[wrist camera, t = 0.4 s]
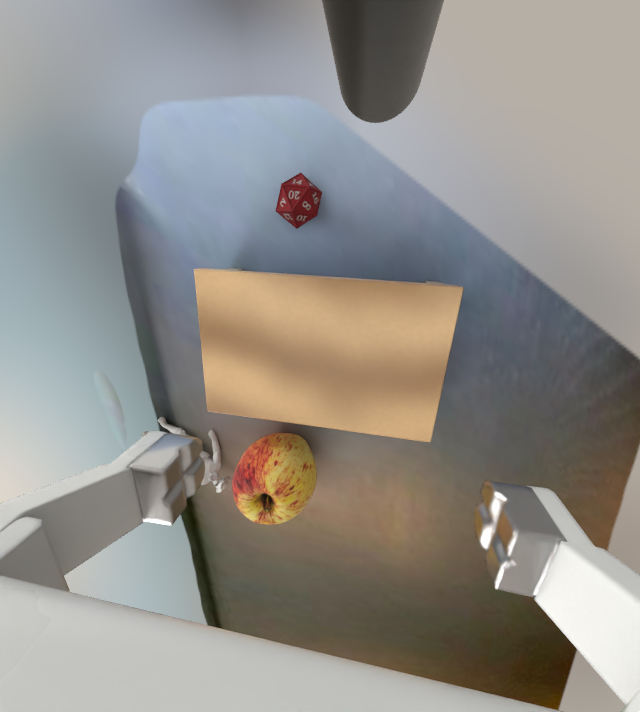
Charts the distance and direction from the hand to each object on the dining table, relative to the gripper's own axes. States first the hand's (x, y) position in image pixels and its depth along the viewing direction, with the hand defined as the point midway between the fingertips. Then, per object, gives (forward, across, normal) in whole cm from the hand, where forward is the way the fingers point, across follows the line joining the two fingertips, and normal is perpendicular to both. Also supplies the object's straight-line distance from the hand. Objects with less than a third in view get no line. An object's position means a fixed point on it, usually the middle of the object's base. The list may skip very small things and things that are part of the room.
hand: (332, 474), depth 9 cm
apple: (+24, +8, +18) cm, 31 cm away
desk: (+24, +4, +3) cm, 24 cm away
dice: (+24, +6, -10) cm, 27 cm away
